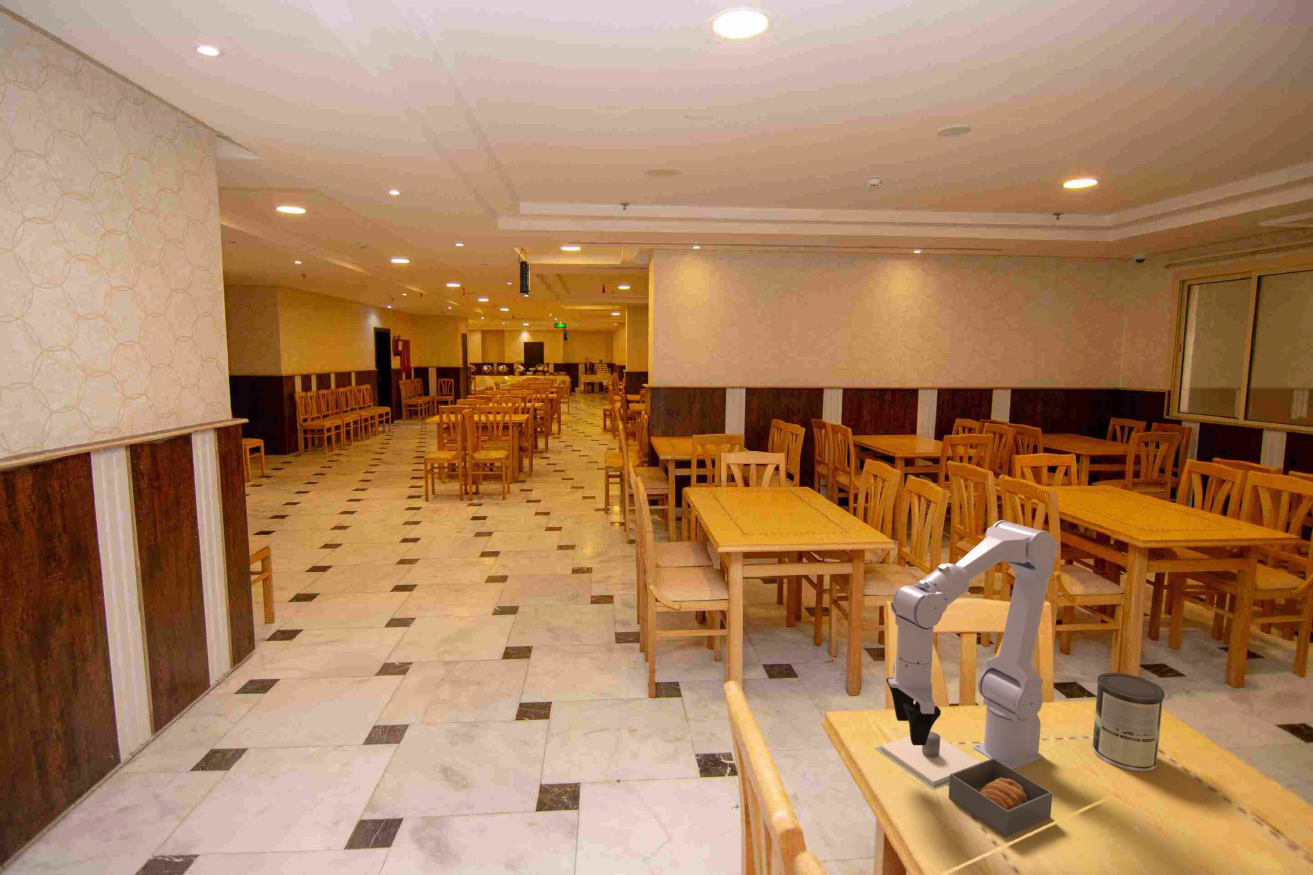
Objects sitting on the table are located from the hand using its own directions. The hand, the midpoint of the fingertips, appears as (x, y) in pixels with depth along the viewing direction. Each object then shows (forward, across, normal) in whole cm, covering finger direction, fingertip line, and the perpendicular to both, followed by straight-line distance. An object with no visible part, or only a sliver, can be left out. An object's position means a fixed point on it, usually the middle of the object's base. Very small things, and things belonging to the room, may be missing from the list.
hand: (910, 731), depth 120 cm
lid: (+9, -7, +7) cm, 14 cm away
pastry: (+10, +6, +14) cm, 18 cm away
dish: (+10, +6, +13) cm, 17 cm away
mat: (+10, -7, +7) cm, 14 cm away
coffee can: (+10, -10, +44) cm, 46 cm away
